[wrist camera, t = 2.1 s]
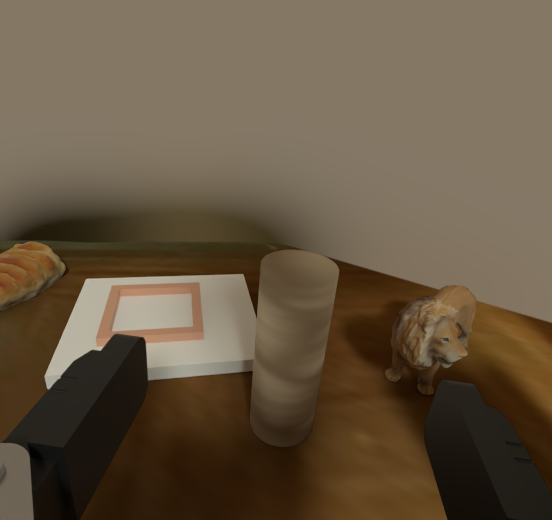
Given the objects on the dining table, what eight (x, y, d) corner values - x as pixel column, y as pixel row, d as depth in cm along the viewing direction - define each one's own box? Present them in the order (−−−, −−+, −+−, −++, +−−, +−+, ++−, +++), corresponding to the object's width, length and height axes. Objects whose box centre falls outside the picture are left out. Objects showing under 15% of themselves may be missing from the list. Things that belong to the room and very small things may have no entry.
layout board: (242, 283, 44) (243, 267, 43) (267, 369, 31) (268, 350, 31) (88, 289, 40) (85, 271, 39) (47, 389, 28) (42, 367, 27)
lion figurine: (435, 439, 27) (475, 332, 23) (363, 401, 29) (388, 299, 25) (472, 337, 38) (503, 254, 34) (418, 317, 40) (441, 237, 37)
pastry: (12, 322, 34) (2, 285, 33) (-61, 314, 35) (-74, 276, 33) (72, 274, 43) (66, 242, 41) (13, 267, 43) (5, 235, 42)
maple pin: (302, 392, 29) (324, 249, 24) (321, 442, 26) (351, 284, 20) (245, 398, 28) (254, 250, 23) (255, 451, 25) (269, 287, 19)
